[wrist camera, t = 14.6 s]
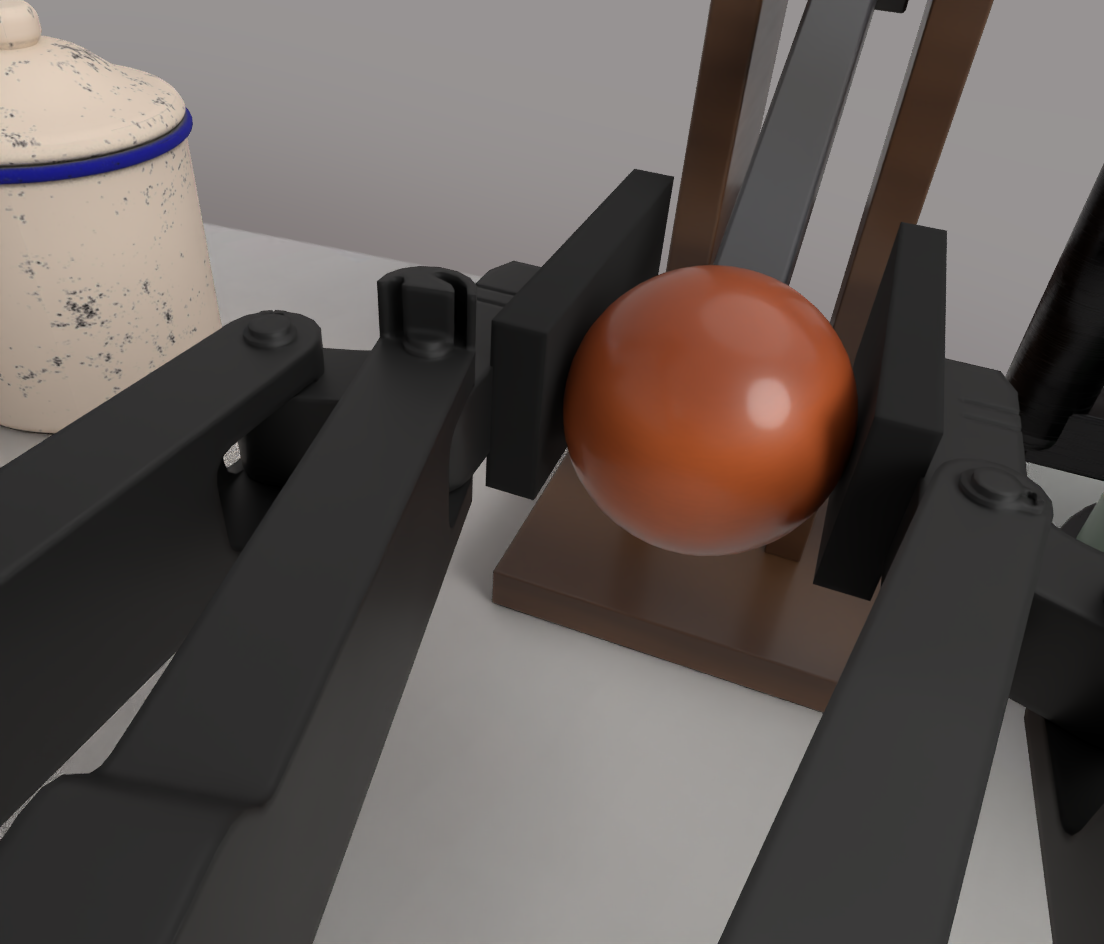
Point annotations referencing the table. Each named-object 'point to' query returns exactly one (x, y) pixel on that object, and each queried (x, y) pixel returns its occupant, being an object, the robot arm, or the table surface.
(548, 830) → the table surface
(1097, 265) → the kettle
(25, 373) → the teacup with lid
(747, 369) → the switch lever
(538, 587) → the switch base
